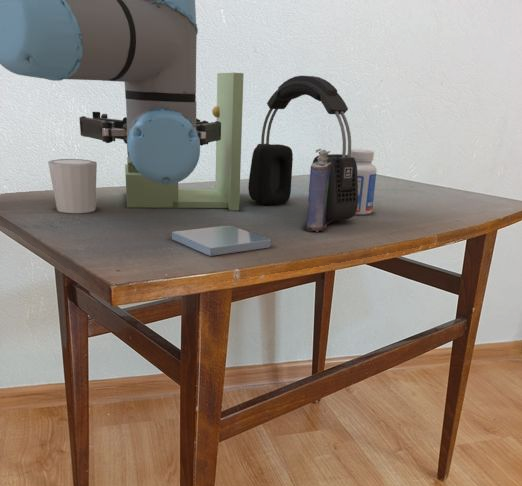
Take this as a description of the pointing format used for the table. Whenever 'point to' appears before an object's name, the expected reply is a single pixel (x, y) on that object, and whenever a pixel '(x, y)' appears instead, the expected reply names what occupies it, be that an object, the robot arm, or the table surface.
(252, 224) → the table surface
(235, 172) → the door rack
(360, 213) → the pill bottle
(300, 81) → the headphones
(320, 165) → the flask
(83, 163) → the white cup
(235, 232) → the coaster
